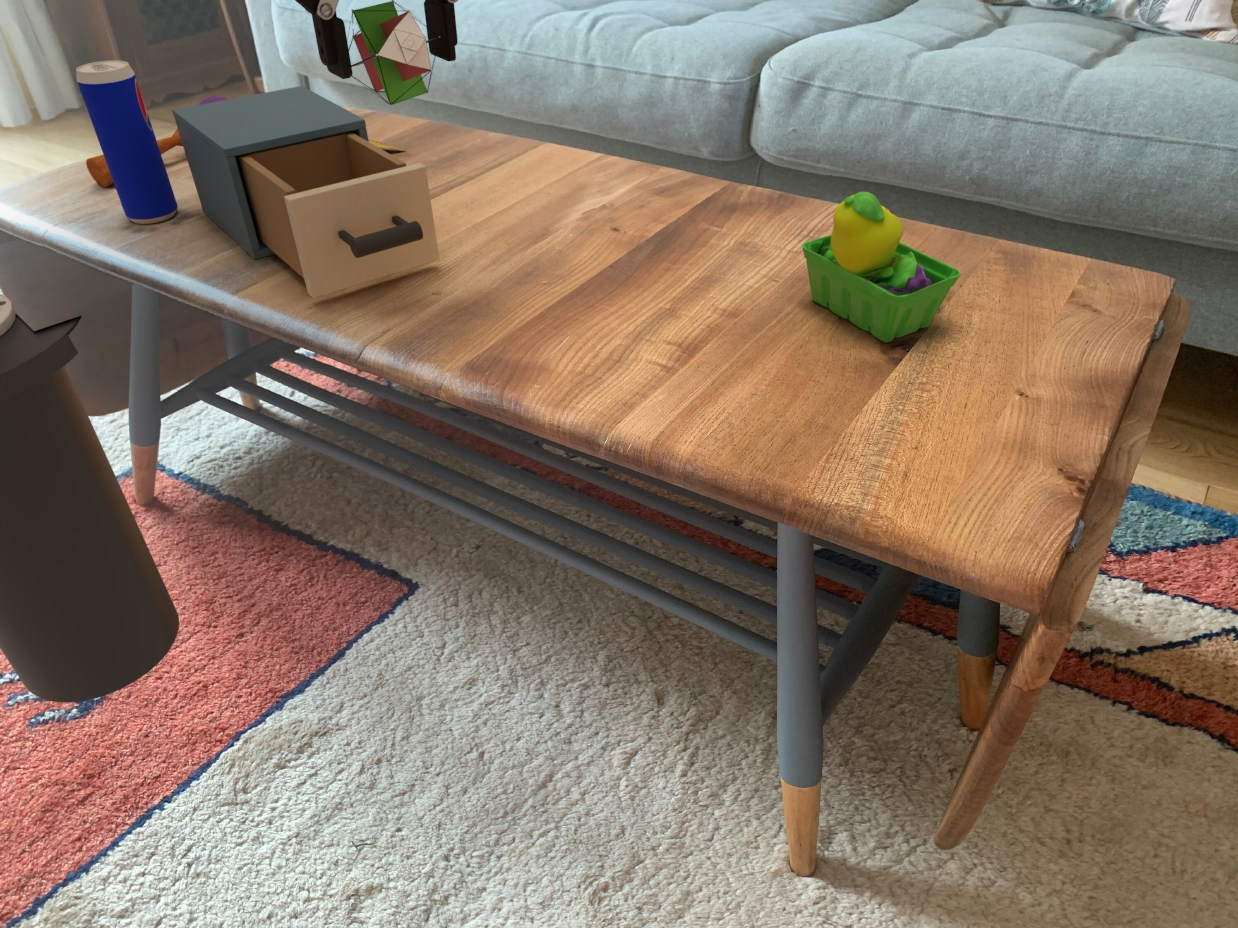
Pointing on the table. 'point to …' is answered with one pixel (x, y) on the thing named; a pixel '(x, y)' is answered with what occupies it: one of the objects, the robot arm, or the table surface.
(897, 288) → the fruit basket
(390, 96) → the geometric puzzle
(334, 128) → the cabinet
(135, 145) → the beverage can
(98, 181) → the kendama
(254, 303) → the table surface
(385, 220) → the drawer
